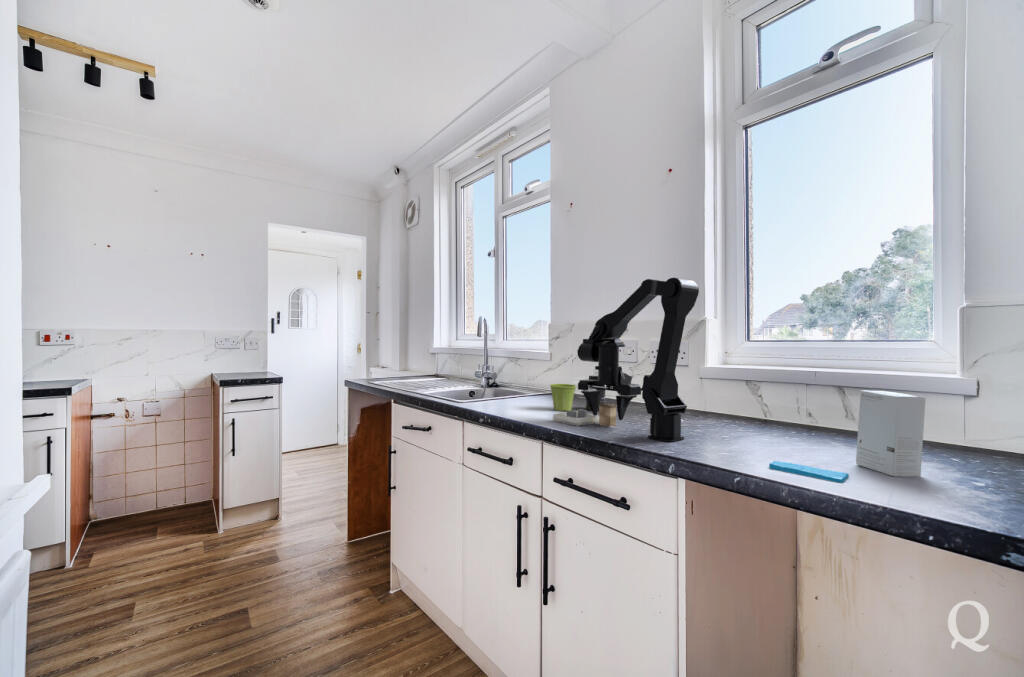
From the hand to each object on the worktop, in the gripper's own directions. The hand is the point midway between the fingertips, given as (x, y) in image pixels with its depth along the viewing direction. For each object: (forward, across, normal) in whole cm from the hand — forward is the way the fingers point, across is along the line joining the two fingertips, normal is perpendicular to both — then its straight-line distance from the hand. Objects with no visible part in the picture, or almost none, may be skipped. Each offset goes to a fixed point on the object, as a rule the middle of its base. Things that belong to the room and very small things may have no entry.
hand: (607, 417), depth 128 cm
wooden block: (+2, 0, 0) cm, 2 cm away
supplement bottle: (+2, +22, -20) cm, 30 cm away
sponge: (+3, -52, +6) cm, 52 cm away
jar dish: (+2, +9, +3) cm, 10 cm away
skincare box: (+2, -61, -8) cm, 61 cm away
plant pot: (+2, +28, -10) cm, 30 cm away
